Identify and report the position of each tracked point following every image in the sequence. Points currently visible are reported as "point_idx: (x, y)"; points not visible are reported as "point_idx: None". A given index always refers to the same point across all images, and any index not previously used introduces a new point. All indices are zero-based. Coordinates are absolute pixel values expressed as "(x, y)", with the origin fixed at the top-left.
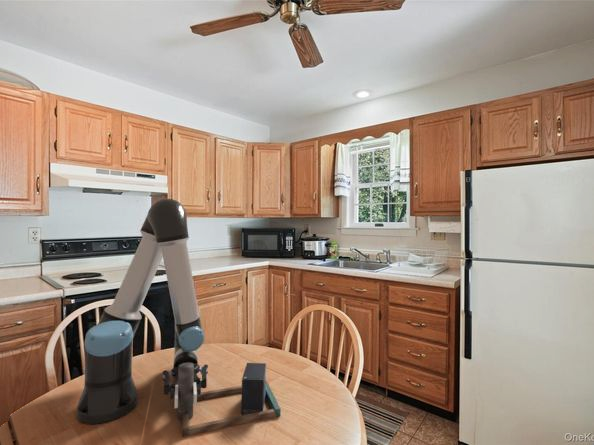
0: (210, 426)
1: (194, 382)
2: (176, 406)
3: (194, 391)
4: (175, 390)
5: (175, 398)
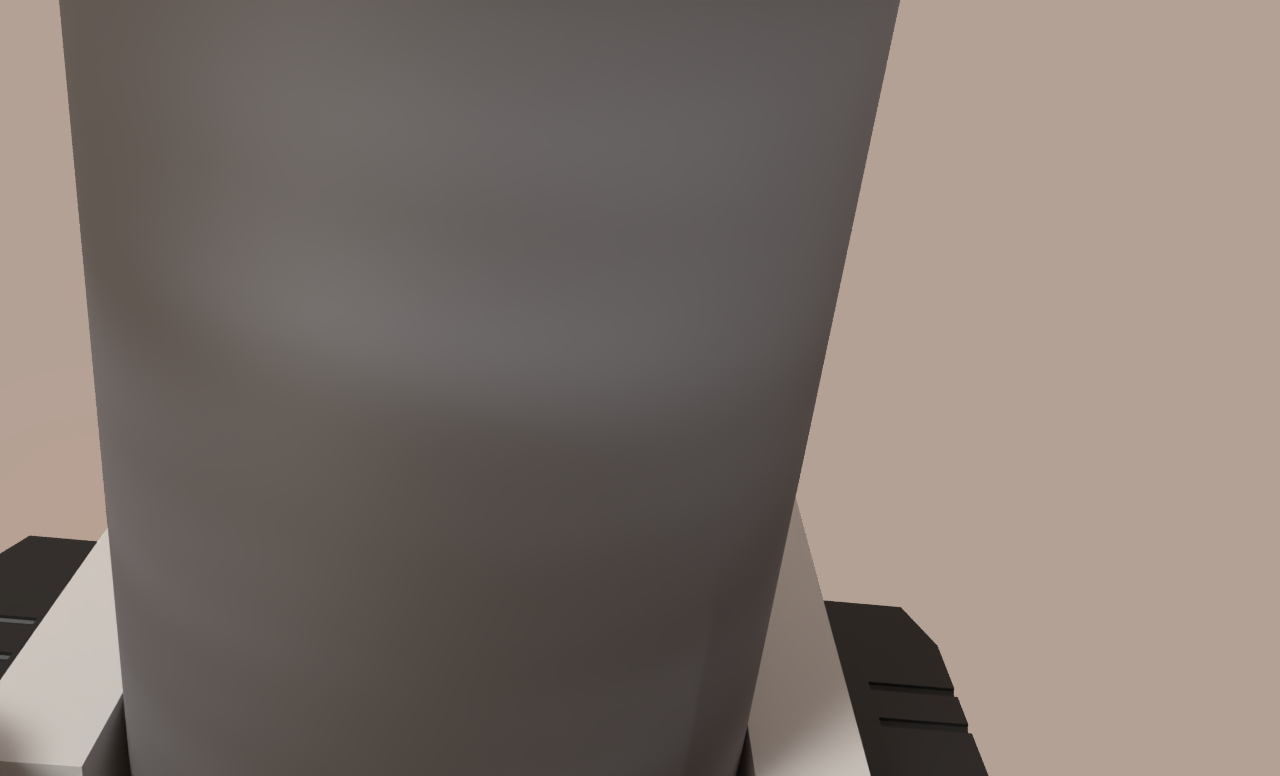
0: None
1: (37, 744)
2: None
3: None
4: (800, 558)
5: None
